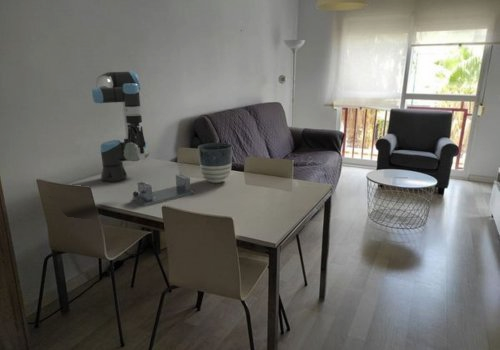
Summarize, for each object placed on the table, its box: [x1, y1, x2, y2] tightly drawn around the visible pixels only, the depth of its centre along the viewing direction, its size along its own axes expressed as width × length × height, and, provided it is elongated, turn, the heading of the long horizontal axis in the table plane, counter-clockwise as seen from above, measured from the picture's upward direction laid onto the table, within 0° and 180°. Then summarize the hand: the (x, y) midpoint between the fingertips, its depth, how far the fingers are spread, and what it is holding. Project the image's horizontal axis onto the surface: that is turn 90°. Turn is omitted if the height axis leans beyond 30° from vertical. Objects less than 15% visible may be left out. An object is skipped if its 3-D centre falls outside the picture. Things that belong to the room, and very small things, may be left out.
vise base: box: [132, 173, 195, 207], centre depth 194 cm, size 14×28×9 cm, turn 130°
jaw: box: [132, 180, 153, 201], centre depth 186 cm, size 10×8×8 cm
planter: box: [197, 142, 233, 184], centre depth 217 cm, size 20×20×21 cm
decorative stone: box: [124, 142, 150, 162], centre depth 192 cm, size 13×11×10 cm
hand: (137, 157), depth 192 cm, fingers closed on decorative stone, 10 cm apart
